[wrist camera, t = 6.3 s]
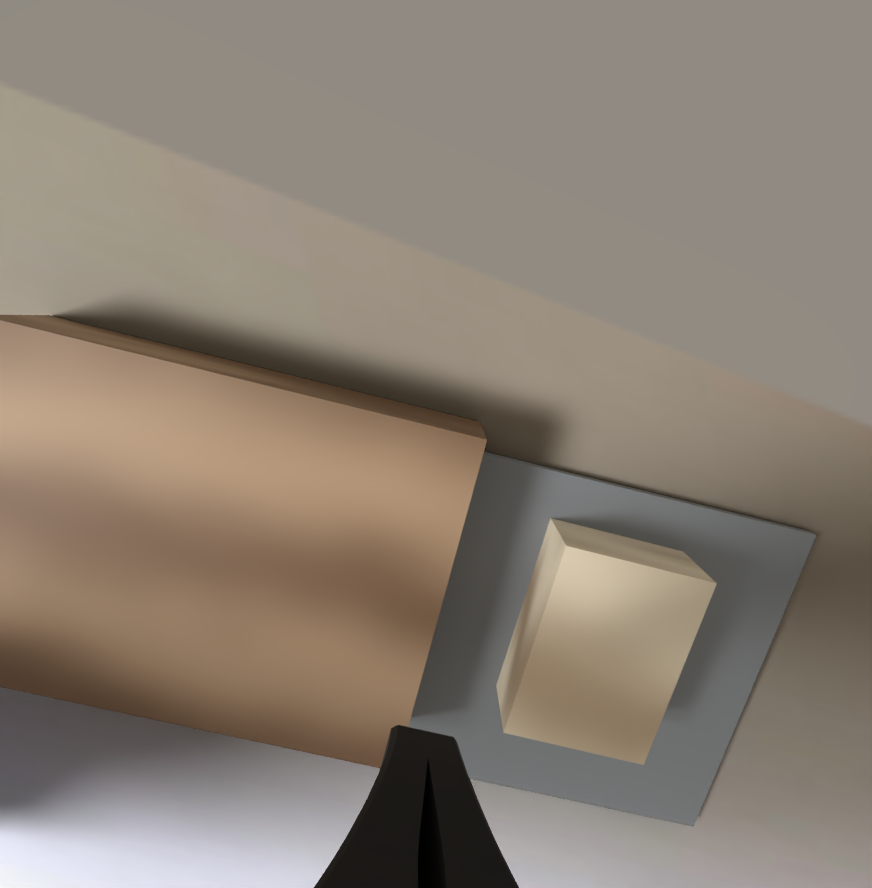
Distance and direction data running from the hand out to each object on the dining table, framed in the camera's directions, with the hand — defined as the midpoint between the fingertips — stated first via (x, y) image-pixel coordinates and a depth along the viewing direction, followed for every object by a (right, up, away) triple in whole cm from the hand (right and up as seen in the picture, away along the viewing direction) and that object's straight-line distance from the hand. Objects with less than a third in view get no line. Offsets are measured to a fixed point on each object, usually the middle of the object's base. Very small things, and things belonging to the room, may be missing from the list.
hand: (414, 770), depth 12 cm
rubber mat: (+6, -1, +10) cm, 12 cm away
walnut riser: (-7, +4, +9) cm, 12 cm away
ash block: (+6, 0, +7) cm, 9 cm away
